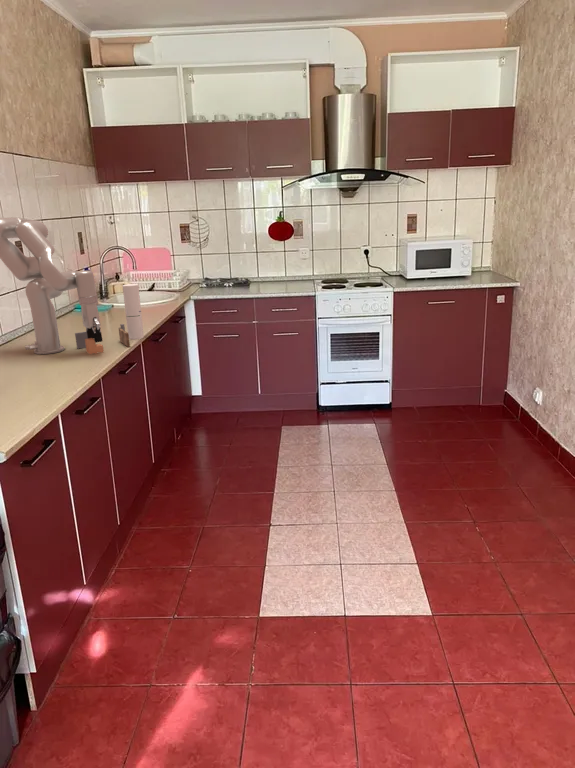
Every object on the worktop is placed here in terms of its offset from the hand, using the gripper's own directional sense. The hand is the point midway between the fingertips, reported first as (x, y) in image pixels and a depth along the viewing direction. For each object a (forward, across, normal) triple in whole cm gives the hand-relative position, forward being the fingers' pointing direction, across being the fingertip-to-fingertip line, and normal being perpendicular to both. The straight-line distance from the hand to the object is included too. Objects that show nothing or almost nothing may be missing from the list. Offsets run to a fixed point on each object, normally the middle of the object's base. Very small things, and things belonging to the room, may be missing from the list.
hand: (95, 340), depth 252 cm
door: (+5, -7, +15) cm, 17 cm away
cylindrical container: (+6, -17, +24) cm, 30 cm away
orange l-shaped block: (+5, -1, -1) cm, 6 cm away
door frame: (+5, -13, +6) cm, 15 cm away
